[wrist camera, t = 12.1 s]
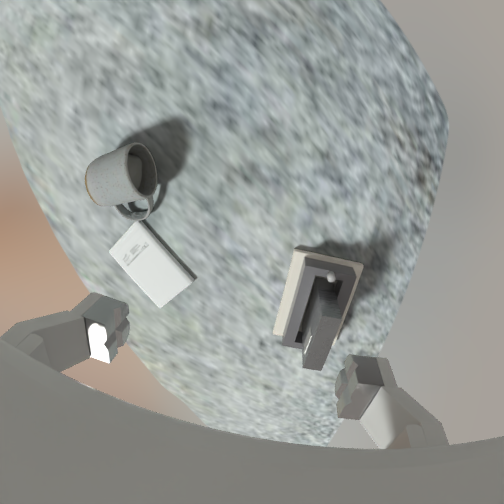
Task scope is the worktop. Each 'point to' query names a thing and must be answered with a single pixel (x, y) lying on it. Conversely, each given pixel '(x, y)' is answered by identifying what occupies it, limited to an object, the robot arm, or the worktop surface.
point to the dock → (300, 288)
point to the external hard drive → (150, 264)
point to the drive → (320, 324)
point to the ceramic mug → (123, 179)
